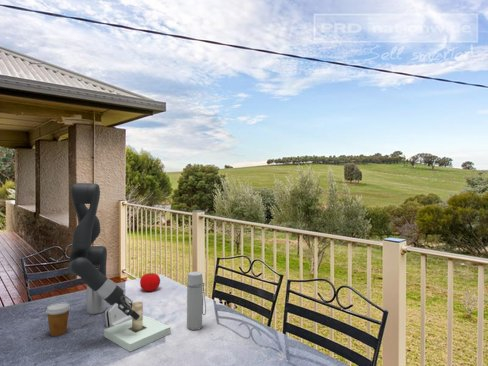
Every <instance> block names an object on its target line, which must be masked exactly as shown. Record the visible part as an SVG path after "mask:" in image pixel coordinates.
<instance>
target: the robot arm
mask: <svg viewBox="0 0 488 366" xmlns="http://www.w3.org/2000/svg"><path fill="white" fill-rule="evenodd" d="M70 193H71V200H72V204H73V206H74V210H75V213H76V216H77V217H76V219H77V225H76V227H75V228H74V231H73V236H72V242H71V244H72V245H71V251H70V255H69V260H68V264H67V269H68V273H69V274H70V275H72V276H74V277H79V278H81V279H82V280H83V281H84V282H85V284H86V313H87V314H90V315H96V314H101V313H103V312H104V313H105V312H106V311H107V303H108V305H110V306H113V305H114V304H116V303H117V304H118V309H120V310H121V311H122V312H124V313H125V314H126V315H127V316H129V315H130V316H131V317H133V318H134V319H135V320H137V319H138V318H139V317H140V316H139V314H137V313H136V312H135V311H134V310H133V309H132V301H133V300H132V299H130V298H129V297H128V296H126V295H125V294H124V293H125V291H124V289H123V288H121V286H119V285H118V284H117V283H115V282H114V281H113V280H111V279H110V278H108V277H107V259H108V257H107V255H108V251H107V247H106V246H92V245H93V243H94V242H96V239H97V238H98V237H99V236H100V234H101V223H100V219H99V218H98V216H97V212H98V208H99V203H100V196H101V187H100V185H99V184H98V183H94V182H93V183H92V182H91V183H89V182H88V183H87V182H76V183H73V185H72V187H71V189H70ZM86 205H89V207H87V206H86ZM97 265H98V267H96V266H97ZM128 310H129V312H128Z"/></svg>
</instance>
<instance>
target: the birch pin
mask: <svg viewBox="0 0 488 366" xmlns="http://www.w3.org/2000/svg"><path fill="white" fill-rule="evenodd" d="M143 306H144V302H143V301H133V303H132V309H133V310H134V311H135V312H136V313H137V314H139V316H140V317H139V318H138V319H137V320H135V319H134V318H133V317H132V331H133V332H135V333H136V332H139V331H141V330H143V315H144V313H143V311H144V307H143Z"/></svg>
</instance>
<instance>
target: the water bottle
mask: <svg viewBox="0 0 488 366" xmlns="http://www.w3.org/2000/svg"><path fill="white" fill-rule="evenodd" d="M186 281H187V282H186V285H187V286H186V298H187V299H186V328H187V329H189V330H191V331H195V330H200V329H201V328H202V327H203V316H206V314H207V306H206V305H207V303H206V302H204V301H206V295H205V293H206V292H203V291H205V282H204V281H203V273H202V272H201V271H191V272H188V273H187V279H186ZM204 307H205V308H204ZM204 309H205V310H204Z"/></svg>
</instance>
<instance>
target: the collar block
mask: <svg viewBox="0 0 488 366" xmlns="http://www.w3.org/2000/svg"><path fill="white" fill-rule="evenodd" d="M170 334H171V326H169V325H167V324H165V323H162V322H160V321H158V320H156V319H154V318H152V317H149V316H147V315H144V314H143V330H141V331H139V332H136V333H135V332H133V331H132V320H129V321H126V322H124V323H121V324H118V325H116V326H112V327H108V328H107V327H106V328H105V329H103V337H104V338H106V339H107V340H109V341H110V342H113V343H114V344H116V345H117V346H119V347H121V348H123V349H125V350H126V351H128V352H130V353H131V352H133V351H135V350H137V349H139V348H141V347H145V346H146V345H149V344H150V343H153V342H155V341H158V340H160V339H161V338H163V337H166V336H169V335H170Z"/></svg>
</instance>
